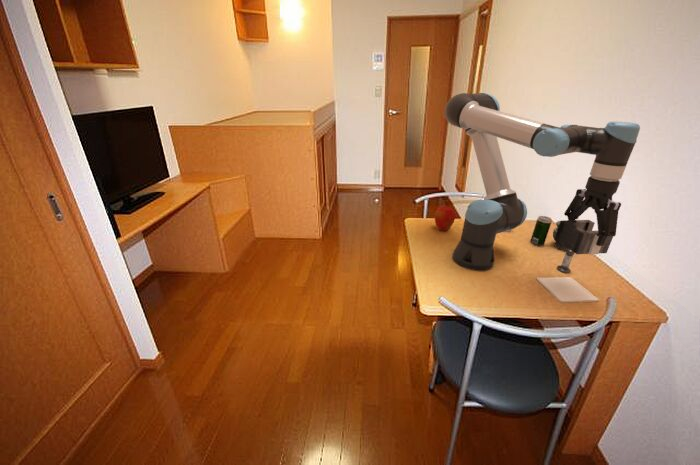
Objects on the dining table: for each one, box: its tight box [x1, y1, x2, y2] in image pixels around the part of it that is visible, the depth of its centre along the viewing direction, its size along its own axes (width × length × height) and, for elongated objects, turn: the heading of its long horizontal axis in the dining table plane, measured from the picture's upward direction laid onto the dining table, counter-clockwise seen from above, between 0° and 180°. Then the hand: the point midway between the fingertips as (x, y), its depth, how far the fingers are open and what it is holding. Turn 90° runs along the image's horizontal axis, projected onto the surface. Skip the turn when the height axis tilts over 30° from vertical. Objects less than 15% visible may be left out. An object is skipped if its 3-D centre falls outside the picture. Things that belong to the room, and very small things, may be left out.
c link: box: [554, 219, 614, 255], centre depth 101 cm, size 10×10×7 cm
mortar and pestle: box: [552, 220, 568, 251], centre depth 134 cm, size 11×9×12 cm
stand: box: [556, 249, 575, 274], centre depth 118 cm, size 4×4×9 cm
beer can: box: [530, 215, 552, 247], centre depth 136 cm, size 5×5×12 cm
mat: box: [535, 276, 599, 303], centre depth 108 cm, size 13×13×1 cm
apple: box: [434, 205, 456, 232], centre depth 146 cm, size 9×9×12 cm
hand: (579, 245), depth 102 cm, fingers closed on c link, 10 cm apart
